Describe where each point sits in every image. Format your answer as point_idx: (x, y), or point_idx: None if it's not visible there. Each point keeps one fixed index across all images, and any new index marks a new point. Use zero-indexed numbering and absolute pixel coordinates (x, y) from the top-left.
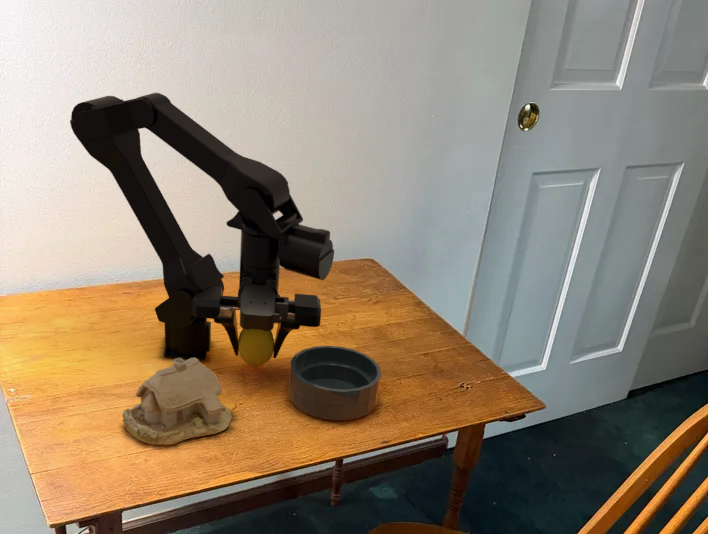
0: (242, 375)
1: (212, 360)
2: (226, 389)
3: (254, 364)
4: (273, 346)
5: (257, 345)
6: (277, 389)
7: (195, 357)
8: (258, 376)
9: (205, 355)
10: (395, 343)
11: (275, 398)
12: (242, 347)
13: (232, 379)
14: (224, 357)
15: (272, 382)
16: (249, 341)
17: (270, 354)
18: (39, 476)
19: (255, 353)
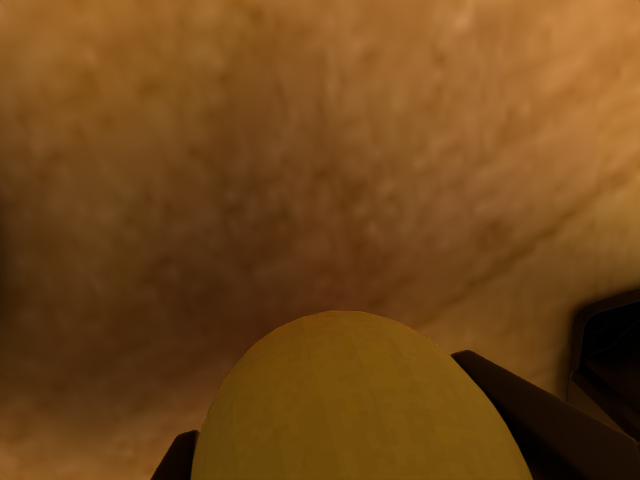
0: (367, 254)
1: (537, 328)
2: (435, 47)
3: (313, 314)
4: None
5: (331, 458)
6: (93, 176)
7: (634, 301)
8: (273, 280)
9: (585, 338)
10: None
11: (46, 34)
12: (470, 394)
13: (416, 189)
14: None
15: (164, 249)
16: (445, 476)
17: (200, 434)
18: None
19: (326, 367)
